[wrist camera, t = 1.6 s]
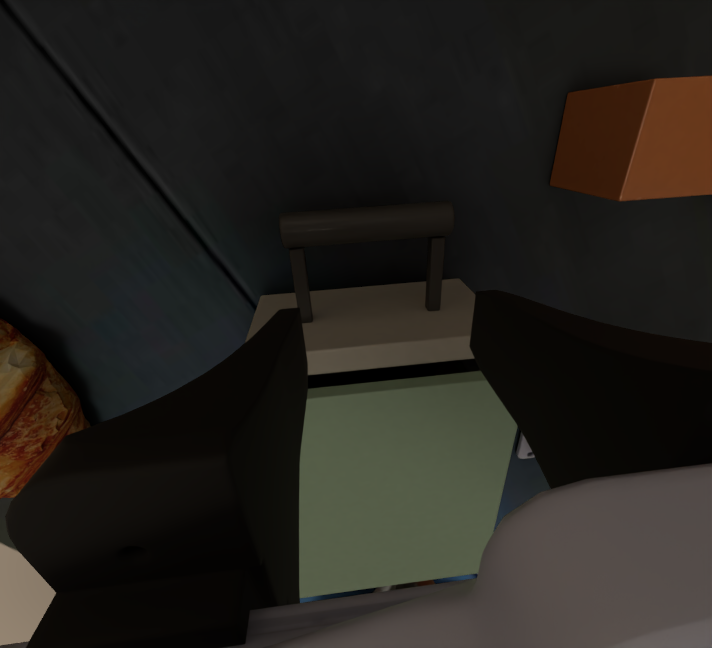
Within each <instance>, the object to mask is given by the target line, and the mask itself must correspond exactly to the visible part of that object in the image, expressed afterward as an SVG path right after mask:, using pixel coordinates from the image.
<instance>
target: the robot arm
mask: <svg viewBox="0 0 712 648" xmlns="http://www.w3.org/2000/svg"><path fill="white" fill-rule="evenodd" d="M469 347H470V349H471V351H472V354H473V356H474V358H475V360H476V362H477V364H478V367H479V369H480V371H481V372H482V374H483V375H484V377H485V378H486V380H487V381H488V383H489V384H490V386H491V387H492V389H493V390H494V392H495V393H496V395H497V396H498V398H499V399H500V401H501V402H502V404H503V405H504V406H505V408H506V409H507V411H508V412H509V414H510V415H511V417H512V418H513V420H514V421H515V423H516V424H517V426H518V427H519V429H520V431H521V434H520V439H519V443H518V447H517V451H516V454H517V456H518V457H519V458H520V459H526V458H534V457H535V458H536V460H537V462H538V463H539V465H540V467H541V469H542V472H543V474H544V476H545V478H546V480H547V482H548V484H549V486H550V488H551V489H550V490H547V491H543V492H540V493H539V494H537V495H536V496H534V497H533V498H531V499H530V500H528V501H527V502H525V503H524V504H522V505H521V506H519V507H517V508H516V509H514V510H513V511H511V512H510V513H508V514H507V515H505V516H504V517H503V519H502V520H501V522H500V524H499V525H498V527H497V528H496V530H495V531H494V533H493V535H492V536H491V538H490V539H489V541H488V542H487V545H486V547H485V549H484V551H483V553H482V557H481V562H480V567H479V571H478V576H477V578H475V579H468V580H461V581H454V582H447V583H440V584H433V585H425V586H418V587H411V588H404V589H397V590H390V591H383V592H376V593H369V594H362V595H355V596H348V597H341V598H333V599H326V600H319V601H312V602H305V603H300V591H299V480H300V453H301V443H302V435H303V427H304V419H305V410H306V402H307V393H308V361H307V354H306V347H305V340H304V333H303V327H302V320H301V313H300V307H299V308H288V309H280V310H278V311H277V312H276V313H275V314H274V315H273V316H272V317H271V318H270V320H269V321H268V322H267V323H266V324H265V325H264V326H263V327H262V328H261V329H260V330H259V331H258V332H257V333H256V334H255V335H254V336H252V337H251V338H250V339H249V340H248V341H247V342H246V343H244V344H243V345H242V346H241V347H240V348H239V349H238V350H236V351H235V352H234V353H233V354H232V355H230V356H229V357H228V358H226V359H225V360H224V361H222V362H221V363H219V364H218V365H217V366H215V367H214V368H212V369H211V370H209V371H208V372H206V373H205V374H203V375H201V376H200V377H198V378H196V379H194V380H193V381H191V382H189V383H187V384H186V385H184V386H182V387H180V388H178V389H177V390H175V391H173V392H171V393H169V394H167V395H165V396H163V397H161V398H159V399H157V400H155V401H153V402H150V403H148V404H146V405H144V406H142V407H139V408H137V409H135V410H132V411H130V412H128V413H125V414H123V415H120V416H118V417H115V418H112V419H110V420H107V421H104V422H102V423H99V424H96V425H94V426H91V427H88V428H86V429H83V430H80V431H78V432H75V433H72V434H69V435H66V436H65V437H64V438H63V440H62V441H61V442H60V443H59V444H58V446H57V447H56V448H55V449H54V451H53V452H52V453H51V454H50V455H49V457H48V458H47V459H46V460H45V461H44V463H43V464H42V465H41V466H40V468H39V469H38V470H37V471H36V472H35V474H34V475H33V476H32V477H31V478H30V480H29V481H28V482H27V483H26V485H25V486H24V487H23V488H22V489H21V491H20V492H19V493H18V494H17V495H16V497H15V498H14V499H13V500H12V501H11V504H10V506H9V509H8V511H7V514H6V516H5V518H6V525H7V532H8V535H9V537H10V539H11V540H12V542H13V543H14V545H15V546H16V548H17V550H18V551H19V552H20V553H21V554H22V555H23V556H24V558H25V559H26V560H27V561H28V562H29V563H30V564H31V565H32V566H33V567H34V568H35V570H36V571H37V572H38V573H39V574H40V575H41V576H42V577H43V578H44V579H45V581H46V582H47V583H48V584H49V585H50V586H51V587H52V588H53V589H54V590H55V592H56V595H55V597H54V598H53V600H52V602H51V604H50V605H49V607H48V609H47V611H46V613H45V614H44V616H43V618H42V620H41V621H40V623H39V625H38V627H37V629H36V630H35V632H34V634H33V636H32V637H31V639H30V641H29V642H23V643H15V644H8V645H1V646H0V648H712V343H707V342H700V341H692V340H685V339H679V338H673V337H667V336H661V335H655V334H650V333H645V332H640V331H635V330H631V329H626V328H622V327H618V326H613V325H609V324H605V323H601V322H597V321H594V320H590V319H587V318H584V317H580V316H577V315H574V314H570V313H567V312H564V311H561V310H558V309H555V308H552V307H549V306H546V305H543V304H540V303H537V302H535V301H532V300H529V299H526V298H523V297H520V296H517V295H514V294H510V293H507V292H503V291H498V290H489V291H477V292H476V296H475V304H474V312H473V320H472V328H471V337H470V345H469Z"/></svg>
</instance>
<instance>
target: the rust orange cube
mask: <svg viewBox="0 0 712 648" xmlns="http://www.w3.org/2000/svg"><path fill="white" fill-rule="evenodd" d="M550 186H553V187H558V188H562V189H567V190H571V191H575V192H580V193H584V194H589V195H593V196H598V197H602V198H606V199H611V200H615V201H631V200H644V199H658V198H671V197H684V196H698V195H711V194H712V76H696V77H677V78H658V79H650V80H644V81H637V82H631V83H625V84H619V85H612V86H606V87H600V88H593V89H587V90H581V91H575V92H569V93H568V95H567V100H566V105H565V110H564V115H563V120H562V125H561V130H560V135H559V140H558V145H557V150H556V155H555V160H554V165H553V170H552V175H551V180H550Z"/></svg>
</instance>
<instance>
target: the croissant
mask: <svg viewBox="0 0 712 648" xmlns="http://www.w3.org/2000/svg"><path fill="white" fill-rule="evenodd" d="M88 427H91V426H90V423H89V422H88V421H87V420H86V419H85V416H84V415H83V412H82V408H81V404H80V399H79V398H78V396H77V394H76V393H75V391H74V390H73V389H72V387H71V386H70V385H69V383H68V382H67V381H66V380H65V379H64V378H63V377H62V376H61V375H60V374H59V373H58V372H57V371H56V370H55V368H54V367H53V366H52V364H51V363H50V362H49V361H48V360H47V359H46V357H45V354H44V353H43V352H42V351H41V350H40V349H39V348H38V347H36V346H35V345H34V344H33V343H32V342H31V341H30V340H29V339H27V338H26V337H25V336H23V335H22V334H21V333H20V331H19V330H17V329H16V328H14V327H13V326H12V325H10V324H9V323H7V322H6V321H5V320H3V319H1V318H0V499H1V498H2V497H6V498H12V497H16V495H17V494H18V493H19V492H20V491H21V489H22V488H23V487H24V486H25V485H26V483H27V482H28V481H29V480H30V478H31V477H32V476H33V475H34V474H35V472H36V471H37V470H38V469H39V468H40V466H41V465H42V464H43V463H44V461H45V460H46V459H47V458H48V457H49V455H50V454H51V453H52V452H53V451H54V449H55V448H56V447H57V446H58V444H59V443H60V442H61V441H62V440H63V438H64V437H65V436H66V435H69V434H72V433H75V432H78V431H80V430H83V429H86V428H88Z"/></svg>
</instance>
